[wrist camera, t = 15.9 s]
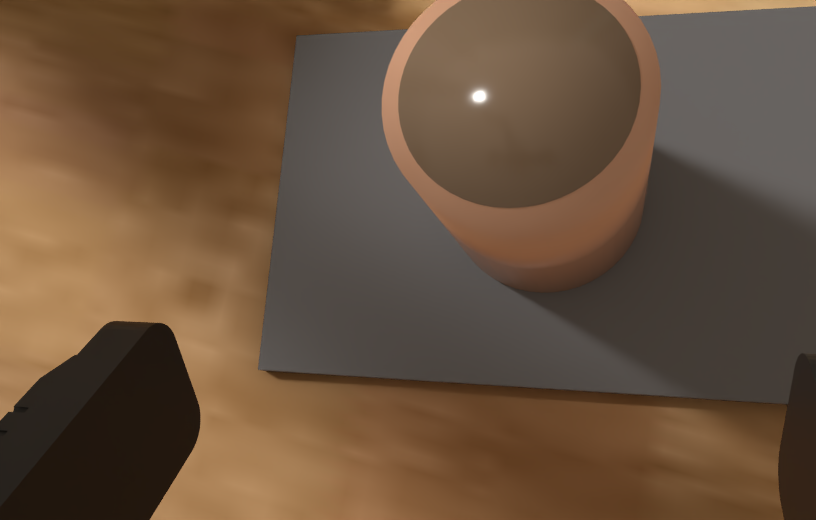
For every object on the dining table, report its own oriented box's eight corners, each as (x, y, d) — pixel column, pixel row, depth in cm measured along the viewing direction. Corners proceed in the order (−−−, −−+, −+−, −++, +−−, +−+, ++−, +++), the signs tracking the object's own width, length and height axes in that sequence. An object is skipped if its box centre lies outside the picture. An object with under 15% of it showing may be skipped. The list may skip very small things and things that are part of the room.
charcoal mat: (264, 370, 26) (257, 369, 25) (301, 42, 28) (296, 35, 28) (864, 409, 21) (870, 408, 21) (847, 13, 24) (851, 4, 23)
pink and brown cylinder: (445, 290, 24) (370, 225, 17) (456, 112, 25) (391, -24, 18) (644, 295, 23) (661, 226, 15) (645, 105, 24) (661, -47, 16)
